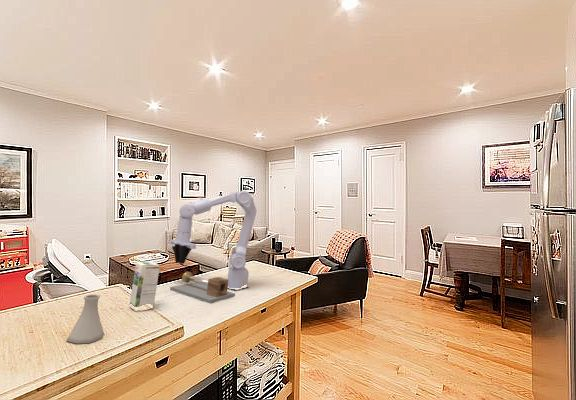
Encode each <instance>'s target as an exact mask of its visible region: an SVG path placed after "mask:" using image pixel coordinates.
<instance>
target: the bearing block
mask: <svg viewBox="0 0 576 400" xmlns="http://www.w3.org/2000/svg"><path fill="white" fill-rule="evenodd" d="M207 280H208V287H207V295H210V296H213V297H220V296H224V295H227V291H228V289H227V288H228V280H229V279H228V278H224V277H221V276H217V277H211V278H208V279H207Z"/></svg>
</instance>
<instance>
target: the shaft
mask: <svg viewBox="0 0 576 400" xmlns="http://www.w3.org/2000/svg"><path fill="white" fill-rule="evenodd" d="M181 281H182V282H184V283H185V284H189V282H192V283H195V282H197V283H200V284H203V285H207V286H208V279H205V278H202V277H201V278H200V277H197V276H194V275H193V273H192V272H191V271H185V272H183V274H182V276H181Z"/></svg>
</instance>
